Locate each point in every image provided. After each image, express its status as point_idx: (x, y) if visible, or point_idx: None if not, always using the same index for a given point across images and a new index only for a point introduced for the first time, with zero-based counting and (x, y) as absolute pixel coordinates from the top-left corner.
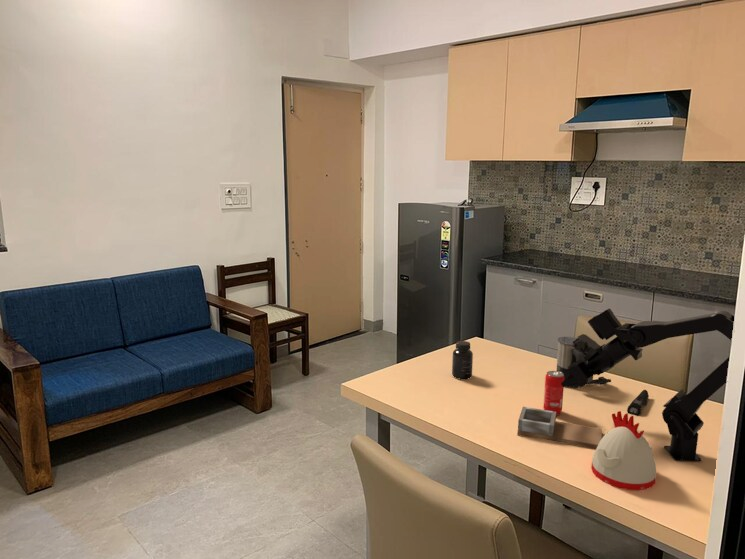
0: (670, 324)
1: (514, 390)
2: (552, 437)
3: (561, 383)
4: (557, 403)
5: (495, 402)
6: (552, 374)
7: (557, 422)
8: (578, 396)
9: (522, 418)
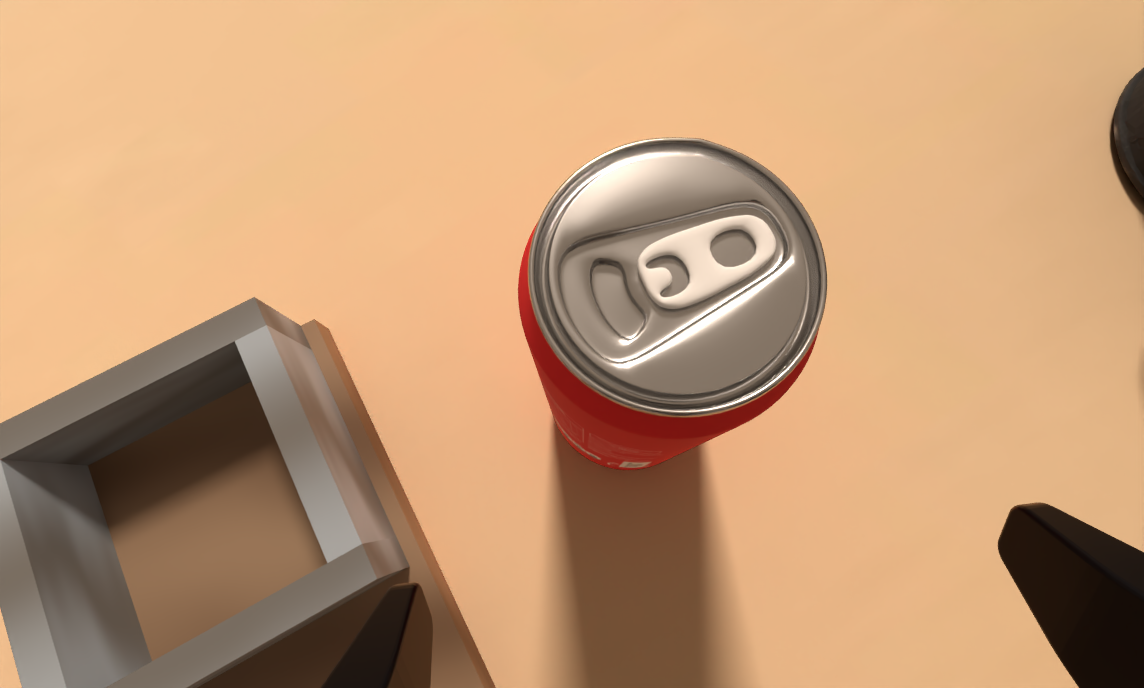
0: None
1: (721, 3)
2: None
3: (381, 601)
4: (589, 452)
5: (438, 48)
6: (637, 245)
7: None
8: (1081, 352)
9: (5, 452)
